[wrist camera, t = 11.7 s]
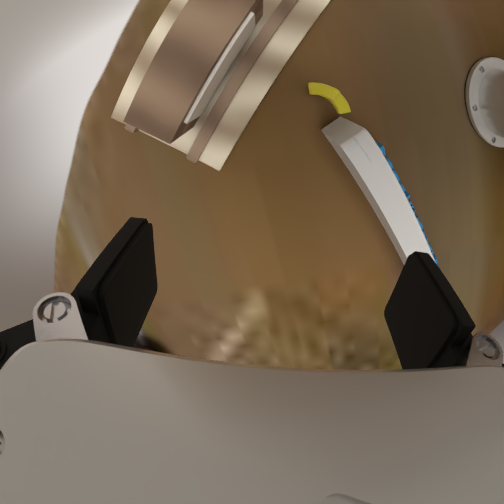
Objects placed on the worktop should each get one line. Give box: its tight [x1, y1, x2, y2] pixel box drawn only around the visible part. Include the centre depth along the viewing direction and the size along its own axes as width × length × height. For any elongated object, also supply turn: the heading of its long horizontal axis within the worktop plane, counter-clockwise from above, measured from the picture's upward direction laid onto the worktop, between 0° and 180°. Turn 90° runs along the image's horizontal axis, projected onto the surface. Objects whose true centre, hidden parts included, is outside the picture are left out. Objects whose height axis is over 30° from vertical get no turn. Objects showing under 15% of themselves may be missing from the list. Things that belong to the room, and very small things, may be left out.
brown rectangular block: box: [123, 0, 263, 144], centre depth 22 cm, size 14×5×9 cm, turn 150°
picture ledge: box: [111, 0, 330, 171], centre depth 24 cm, size 26×14×3 cm, turn 150°
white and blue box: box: [308, 82, 439, 267], centre depth 30 cm, size 32×4×10 cm, turn 39°
